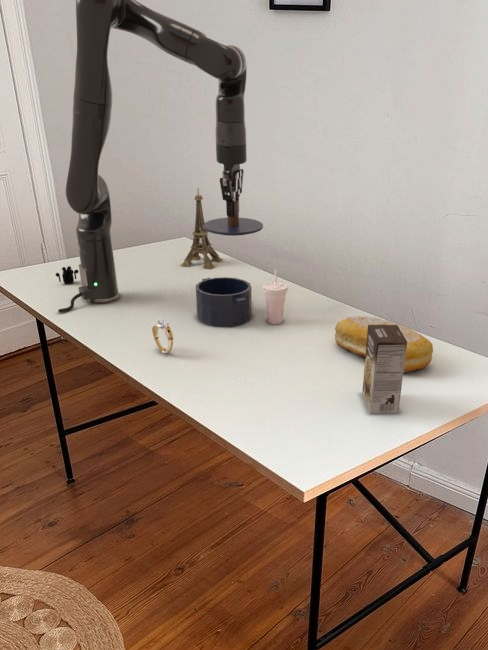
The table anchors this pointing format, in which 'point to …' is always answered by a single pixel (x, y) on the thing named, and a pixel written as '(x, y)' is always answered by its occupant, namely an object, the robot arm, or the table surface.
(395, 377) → the coffee box
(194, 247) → the eiffel tower
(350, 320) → the bread
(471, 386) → the table surface
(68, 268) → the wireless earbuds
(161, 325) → the ring
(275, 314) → the smoothie
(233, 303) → the pot
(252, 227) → the lid
